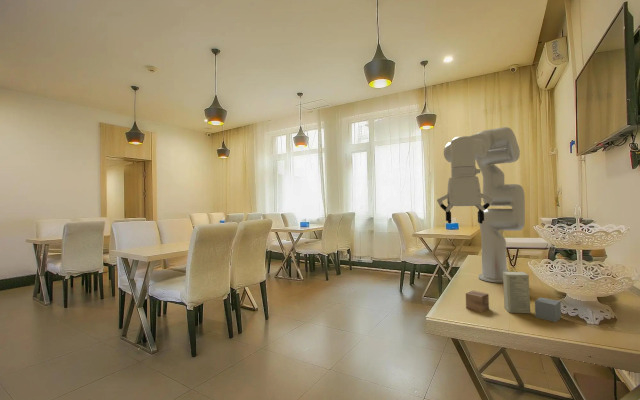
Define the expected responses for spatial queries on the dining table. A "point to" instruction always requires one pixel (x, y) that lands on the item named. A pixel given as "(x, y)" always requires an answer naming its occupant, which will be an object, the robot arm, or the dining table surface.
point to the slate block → (548, 309)
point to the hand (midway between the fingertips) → (464, 223)
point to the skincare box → (516, 292)
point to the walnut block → (477, 301)
